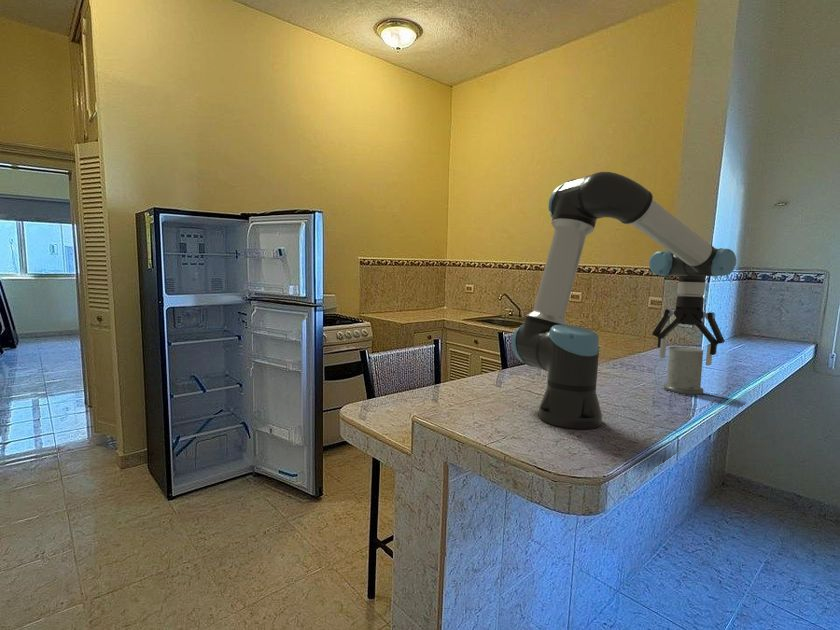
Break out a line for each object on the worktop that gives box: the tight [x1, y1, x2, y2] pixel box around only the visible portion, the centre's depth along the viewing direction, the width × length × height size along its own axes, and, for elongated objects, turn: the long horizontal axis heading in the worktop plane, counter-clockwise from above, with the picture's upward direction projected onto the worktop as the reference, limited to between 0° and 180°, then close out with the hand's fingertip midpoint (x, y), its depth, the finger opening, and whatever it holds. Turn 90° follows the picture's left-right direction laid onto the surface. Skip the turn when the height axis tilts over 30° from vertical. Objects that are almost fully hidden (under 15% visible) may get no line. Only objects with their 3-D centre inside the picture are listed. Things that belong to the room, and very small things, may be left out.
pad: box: [663, 382, 704, 396], centre depth 142 cm, size 11×11×2 cm
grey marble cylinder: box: [666, 346, 704, 390], centre depth 142 cm, size 10×10×12 cm
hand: (684, 361), depth 141 cm, fingers open, 13 cm apart
